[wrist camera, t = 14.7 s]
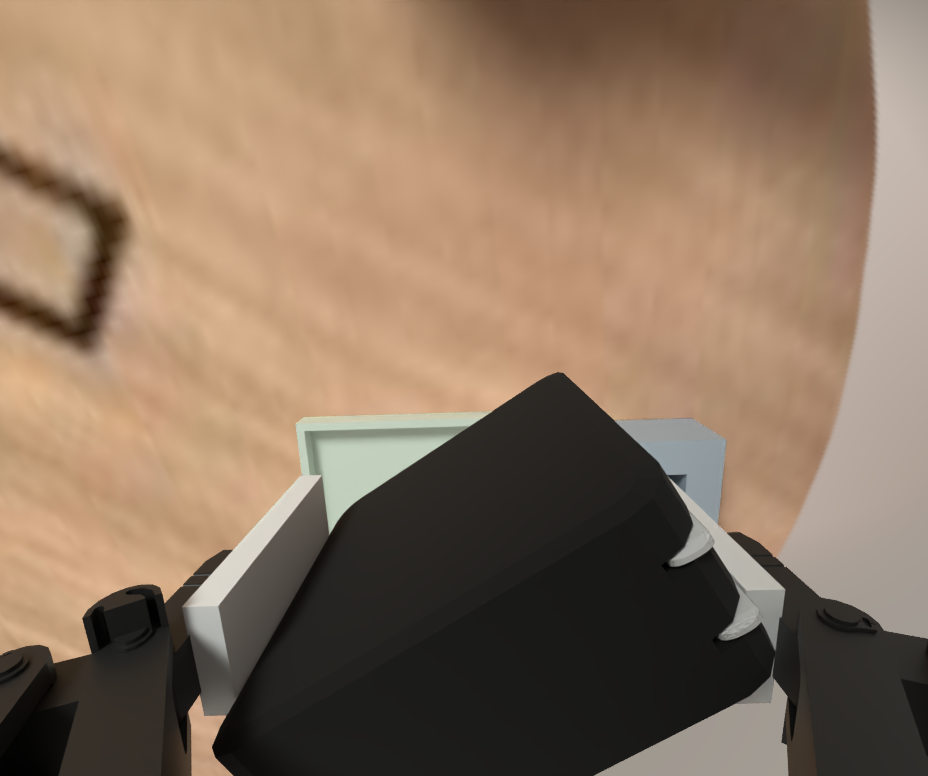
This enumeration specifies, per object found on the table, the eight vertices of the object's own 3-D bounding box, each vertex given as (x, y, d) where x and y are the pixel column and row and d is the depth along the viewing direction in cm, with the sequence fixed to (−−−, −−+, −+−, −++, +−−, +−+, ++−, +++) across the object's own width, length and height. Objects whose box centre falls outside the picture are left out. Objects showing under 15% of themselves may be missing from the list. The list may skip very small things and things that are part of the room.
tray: (303, 417, 36) (295, 423, 35) (517, 410, 36) (519, 417, 34) (324, 581, 40) (317, 594, 38) (518, 576, 39) (521, 590, 38)
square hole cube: (578, 421, 36) (594, 443, 31) (692, 418, 36) (726, 439, 31) (576, 523, 38) (591, 558, 33) (683, 520, 38) (714, 555, 33)
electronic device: (342, 507, 18) (188, 772, 8) (556, 365, 16) (681, 480, 7) (405, 583, 19) (332, 912, 9) (615, 454, 17) (804, 674, 7)
